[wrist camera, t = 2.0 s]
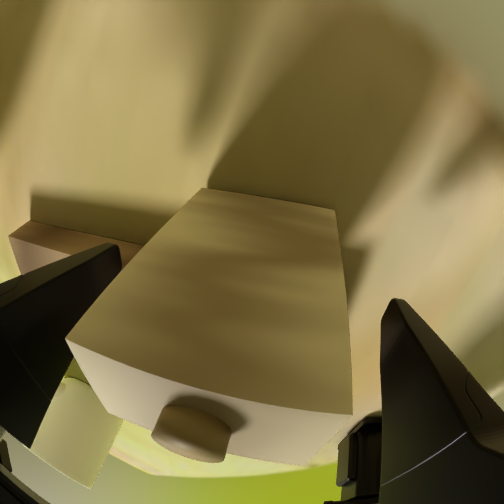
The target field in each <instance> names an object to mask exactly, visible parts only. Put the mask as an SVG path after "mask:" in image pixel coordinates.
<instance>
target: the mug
mask: <svg viewBox="0 0 504 504" xmlns="http://www.w3.org/2000/svg"><path fill="white" fill-rule="evenodd" d="M122 423H123V419H122V418H119V417H117V416H115V415H113V414H110V413H108V412H107V410H106V409H105V407H104V406H103V404H102V403H101V401H100V400H99V398H98V396H97V395H96V393H95V392H94V390H93V388H92V387H91V386H90V385H88V384H86V383H84V382H82V381H80V380H78V379H75V378H65V379H63V380H62V381H61V383H60V385H59V387H58V389H57V391H56V393H55V395H54V397H53V399H52V400H51V403H50V405H49V408H48V410H47V412H46V414H45V416H44V419H43V421H42V423H41V425H40V428H39V430H38V432H37V435H36V437H35V439H34V442H33V444H32V446H31V448H30V449H29V448H27V447H26V446H25V445H23V446H25V447H26V448H27V449H28V450H29V451H31V452H32V453H34V454H35V455H36V456H37V457H39V458H40V459H41V460H43V461H44V462H46V463H47V464H49V465H50V466H51V467H53V468H54V469H56V470H58V471H59V472H61V473H62V474H64V475H65V476H67V477H69V478H70V479H72V480H74V481H76V482H77V483H79V484H81V485H83V486H85V487H87V488H89V489H92V487H93V485H94V482H95V480H96V478H97V476H98V474H99V472H100V469H101V467H102V465H103V463H104V461H105V459H106V457H107V455H108V453H109V450H110V448H111V446H112V444H113V442H114V440H115V438H116V436H117V434H118V432H119V430H120V428H121V425H122Z"/></svg>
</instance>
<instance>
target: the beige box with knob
mask: <svg viewBox="0 0 504 504" xmlns="http://www.w3.org/2000/svg"><path fill="white" fill-rule="evenodd" d="M65 340H66V342H67V344H68V346H69V348H70V350H71V351H72V353H73V355H74V357H75V359H76V361H77V363H78V364H79V366H80V368H81V370H82V372H83V373H84V375H85V377H86V379H87V380H88V382H89V384H90V385H91V387H92V388H93V390H94V392H95V393H96V395H97V396H98V398H99V400H100V401H101V403H102V404H103V406H104V407H105V409H106V410H107V412H108V413H110V414H113V415H115V416H117V417H119V418H122V419H124V420H126V421H129V422H131V423H133V424H136V425H138V426H141V427H143V428H146V429H149V430H151V431H153V432H152V434H151V436H152V438H153V439H154V441H156V442H157V443H158V444H159V445H161V446H162V447H164V448H166V449H168V450H170V451H172V452H174V453H176V454H178V455H181V456H184V457H187V458H190V459H193V460H197V461H202V462H209V463H219V462H222V461H224V458H225V455H226V453H228V454H233V455H237V456H242V457H247V458H252V459H258V460H264V461H270V462H276V463H283V464H291V465H300V466H305V465H306V464H307V463H308V462H309V461H310V460H311V459H312V458H313V457H314V456H315V455H316V454H317V453H318V452H319V451H320V450H321V449H322V448H323V447H324V446H325V445H326V444H327V443H328V442H329V441H330V440H331V439H332V438H333V437H334V436H335V435H336V433H337V432H338V431H339V430H340V429H341V428H342V427H343V426H344V425H345V423H346V422H347V421H348V420H349V419H350V418H351V416H352V415H353V407H352V368H351V348H350V333H349V320H348V308H347V298H346V288H345V279H344V270H343V262H342V255H341V247H340V240H339V234H338V227H337V221H336V214H335V210H331V209H326V208H321V207H316V206H311V205H306V204H300V203H295V202H290V201H284V200H278V199H272V198H267V197H261V196H254V195H248V194H242V193H235V192H229V191H222V190H215V189H208V188H201V189H200V190H199V191H198V192H197V193H196V194H195V195H194V196H193V197H192V198H191V199H190V200H189V201H188V202H187V203H186V204H185V205H184V206H183V207H182V208H181V209H180V210H179V211H178V212H177V213H176V214H175V215H174V216H173V217H172V218H171V219H170V220H169V221H168V222H167V223H166V224H165V225H164V226H163V227H162V228H161V229H160V230H159V231H158V232H157V233H156V234H155V235H154V236H153V237H152V238H151V239H150V240H149V241H148V242H147V244H146V245H145V246H144V247H143V248H142V249H141V250H140V251H139V252H138V253H137V254H136V255H135V256H134V257H133V259H132V260H131V261H130V262H129V263H128V264H127V265H126V266H125V267H124V268H123V270H122V271H121V272H120V273H119V274H118V275H117V276H116V277H115V279H114V280H113V281H112V282H111V283H110V284H109V285H108V287H107V288H106V289H105V290H104V291H103V292H102V294H101V295H100V296H99V297H98V298H97V299H96V301H95V302H94V303H93V304H92V305H91V307H90V308H89V309H88V310H87V311H86V313H85V314H84V315H83V316H82V318H81V319H80V320H79V321H78V323H77V324H76V325H75V326H74V328H73V329H72V330H71V331H70V333H69V334H68V335H67V336H66V338H65Z"/></svg>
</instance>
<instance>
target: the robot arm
mask: <svg viewBox="0 0 504 504" xmlns="http://www.w3.org/2000/svg"><path fill="white" fill-rule="evenodd" d="M121 270H122V260H121V254H120V248H119V246H118V245H117V244H114V243H110V242H107V243H104V244H101V245H98V246H95V247H93V248H90V249H87V250H84V251H82V252H79V253H76V254H74V255H71V256H68V257H66V258H63V259H60V260H58V261H55V262H53V263H50V264H47V265H45V266H42V267H40V268H37V269H35V270H32V271H30V272H28V273H25V274H24V275H20V276H18V277H15V278H13V279H10V280H8V281H6V282H3V283H0V504H50V503H48V502H47V501H46V500H44V499H43V498H42V497H40V496H39V495H38V494H36V493H35V492H34V491H32V490H31V489H30V488H29V487H27V486H26V485H25V484H24V483H22V482H21V481H20V480H19V479H18V478H16V477H15V476H14V475H13V474H12V473H11V472H12V467H11V463H10V458H9V454H8V448H7V443H6V441H5V440H4V439H3V437H4V435H5V433H6V431H7V432H8V433H10V434H11V435H12V436H13V437H15V438H16V439H17V440H18V441H20V442H21V443H22V444H23V445H25V446H26V447H27V448H29V449H30V448H31V446H32V444H33V442H34V439H35V437H36V435H37V432H38V430H39V428H40V425H41V423H42V421H43V419H44V416H45V414H46V412H47V410H48V408H49V405H50V403H51V400H52V399H53V397H54V395H55V393H56V391H57V389H58V387H59V385H60V383H61V381H62V379H63V377H64V375H65V373H66V371H67V369H68V367H69V365H70V363H71V362H72V360H73V358H74V355H73V353H72V351H71V350H70V348H69V346H68V344H67V342H66V340H65V338H66V336H67V335H68V334H69V333H70V331H71V330H72V329H73V328H74V326H75V325H76V324H77V323H78V321H79V320H80V319H81V318H82V316H83V315H84V314H85V313H86V311H87V310H88V309H89V308H90V307H91V305H92V304H93V303H94V302H95V301H96V299H97V298H98V297H99V296H100V295H101V294H102V292H103V291H104V290H105V289H106V288H107V287H108V285H109V284H110V283H111V282H112V281H113V280H114V279H115V277H116V276H117V275H118V274H119V273H120V272H121ZM380 375H381V395H382V418H366V419H364V420H362V421H361V423H360V424H359V425H358V426H357V427H356V428H355V429H354V430H353V431H352V432H351V433H350V434H349V435H348V436H347V437H346V438H345V439H344V440H343V441H342V442H341V443H340V444H339V445H338V450H339V452H338V467H337V479H336V485H337V486H339V487H340V486H341V487H342V491H341V501H325V502H324V504H504V411H503V410H502V409H501V408H500V407H499V406H498V405H497V404H496V402H494V400H493V399H492V398H491V397H490V396H489V395H488V394H487V392H486V391H485V390H484V389H483V388H482V387H481V385H480V384H479V383H478V382H477V381H476V380H475V378H474V377H473V376H472V375H471V373H470V372H469V371H468V372H467V369H466V367H465V366H464V365H463V364H462V363H461V362H460V360H459V359H458V358H457V357H456V356H455V355H454V353H453V352H452V351H451V350H450V349H449V348H448V347H447V345H446V344H445V343H444V342H443V341H442V340H441V339H440V338H439V336H438V335H437V334H436V333H435V332H434V331H433V330H432V329H431V328H430V327H429V325H428V324H427V323H426V322H425V321H424V320H423V319H422V318H421V317H420V316H419V315H418V314H417V313H416V312H415V310H414V309H413V308H412V307H411V306H410V305H409V304H408V303H407V302H406V301H405V300H403V299H397V298H393V299H391V301H390V302H389V305H388V307H387V309H386V311H385V313H384V315H383V317H382V320H381V345H380Z"/></svg>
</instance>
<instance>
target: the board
mask: <svg viewBox="0 0 504 504" xmlns="http://www.w3.org/2000/svg"><path fill="white" fill-rule="evenodd" d="M9 240H10V243H11V246H12V249H13V252H14V255H15V258H16V261H17V264H18V267H19V270H20V272H21V275H24V274H25V273H28V272H30V271H32V270H35V269H37V268H40V267H42V266H45V265H47V264H50V263H53V262H55V261H58V260H60V259H63V258H66V257H68V256H71V255H74V254H76V253H79V252H82V251H84V250H87V249H90V248H93V247H95V246H98V245H101V244H104V243H107V242H110V243H114V244H117V245H118V246H119V248H120V254H121V260H122V270H123V268H124V267H125V266H126V265H127V264H128V263H129V262H130V261H131V260H132V259H133V257H134V256H135V255H136V254H137V253H138V252H139V251H140V250H141V249H142V248H143V247H144V245H139V244H135V243H130V242H125V241H120V240H116V239H111V238H106V237H102V236H97V235H92V234H88V233H83V232H79V231H74V230H70V229H65V228H60V227H56V226H52V225H47V224H43V223H38V222H34V221H28V222H27V223H26V224H24V225H23V226H21V227H20V228H18V229H17V230H16V231H14V232H13V233H12V234H10V235H9ZM122 270H121V271H122Z"/></svg>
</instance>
